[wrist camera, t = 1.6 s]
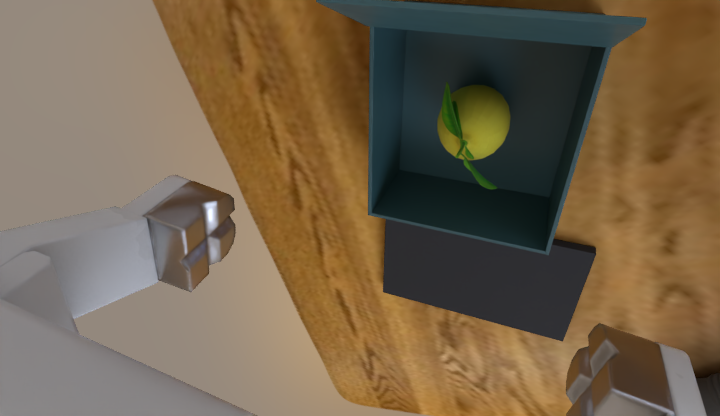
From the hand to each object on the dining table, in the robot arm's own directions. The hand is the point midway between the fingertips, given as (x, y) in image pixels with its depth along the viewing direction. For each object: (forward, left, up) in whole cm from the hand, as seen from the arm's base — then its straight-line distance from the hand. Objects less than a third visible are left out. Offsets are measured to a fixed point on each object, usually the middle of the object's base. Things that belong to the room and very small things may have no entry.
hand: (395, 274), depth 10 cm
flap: (+2, -1, -18) cm, 18 cm away
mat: (0, +26, -31) cm, 40 cm away
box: (+2, +8, -31) cm, 32 cm away
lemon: (+2, +8, -31) cm, 32 cm away
